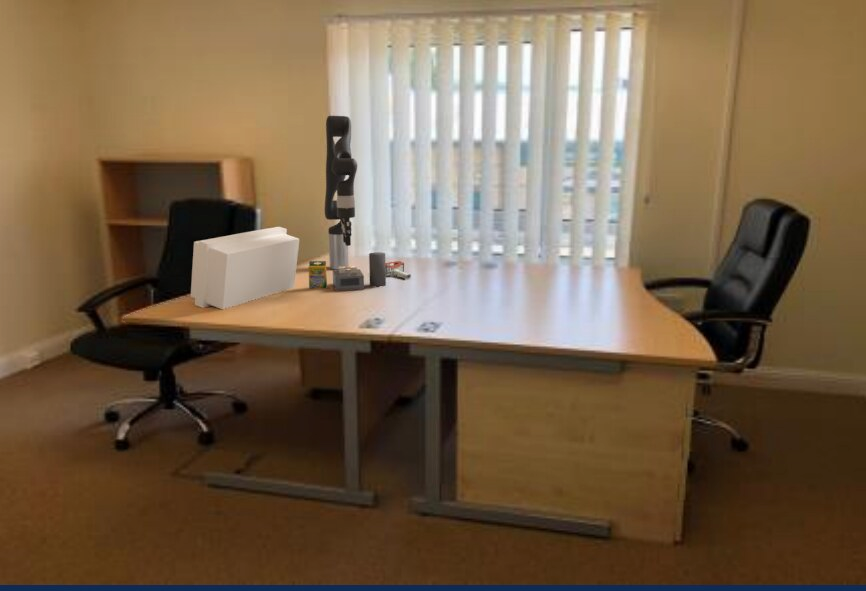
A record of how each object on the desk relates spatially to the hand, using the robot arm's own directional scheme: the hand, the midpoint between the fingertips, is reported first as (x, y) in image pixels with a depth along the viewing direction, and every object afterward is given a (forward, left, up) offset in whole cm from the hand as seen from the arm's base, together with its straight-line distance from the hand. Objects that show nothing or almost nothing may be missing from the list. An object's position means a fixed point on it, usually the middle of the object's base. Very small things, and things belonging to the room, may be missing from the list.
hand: (347, 243), depth 295 cm
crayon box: (0, -13, -19) cm, 23 cm away
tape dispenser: (-19, +24, -19) cm, 36 cm away
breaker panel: (0, 0, -19) cm, 19 cm away
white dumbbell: (0, 0, -13) cm, 13 cm away
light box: (+9, -42, -19) cm, 47 cm away
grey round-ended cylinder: (0, +13, -19) cm, 23 cm away
